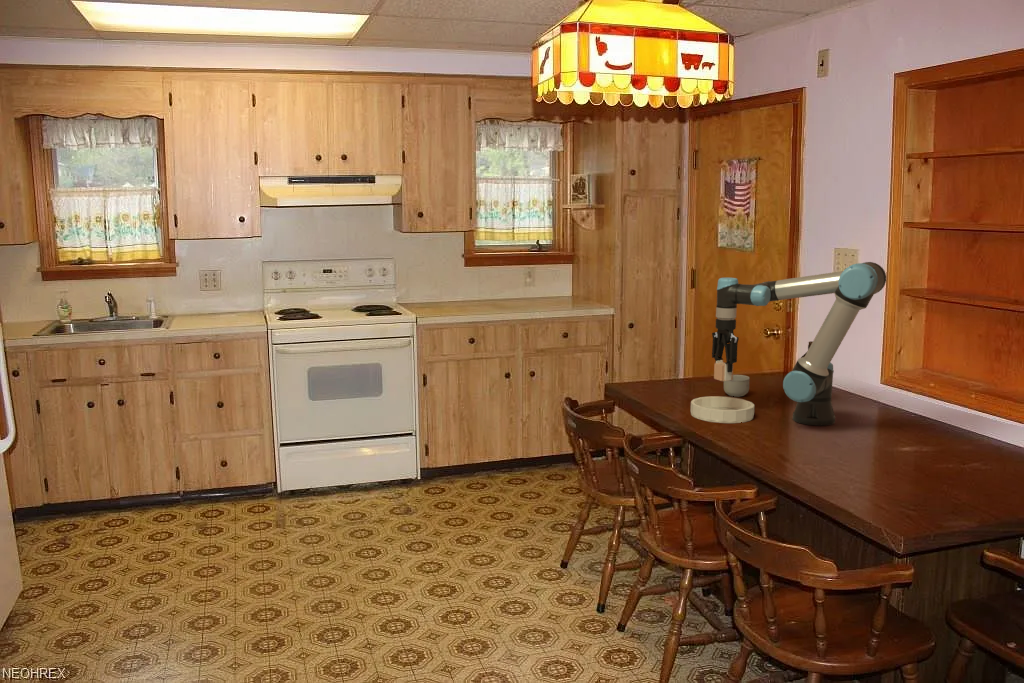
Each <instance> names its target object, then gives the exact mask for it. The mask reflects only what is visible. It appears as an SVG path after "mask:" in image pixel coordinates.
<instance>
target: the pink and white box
mask: <svg viewBox="0 0 1024 683" xmlns="http://www.w3.org/2000/svg"><path fill="white" fill-rule="evenodd" d="M713 368H714V370H713V379H714V380H717V381H720V382H724V381H725V380H724V375H725V362H724V361H723V363H715V362H714V367H713ZM733 375H734V366H733V367H732V376H731V380H733ZM727 381H729V380H727Z"/></svg>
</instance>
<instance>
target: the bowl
mask: <svg viewBox="0 0 1024 683" xmlns="http://www.w3.org/2000/svg"><path fill="white" fill-rule="evenodd" d="M690 415H691V416H692V417H693V418H695V419H698V420H701V421H703V422H709V423H718V424H740V423H741V422H742V423H747V422H750V421H752V420H753V419H754V415H755V404H754V403H753V402H752V401H750V400H746V399H743V398H740V397H733V396H714V395H713V396H701V397H696V398H693V399H692V400H691V401H690Z"/></svg>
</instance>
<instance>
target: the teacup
mask: <svg viewBox="0 0 1024 683" xmlns="http://www.w3.org/2000/svg"><path fill="white" fill-rule="evenodd" d="M750 379H751V378H750V376H748V375H745V374H733V380H729V381H723V391H724V392H725V394H727V395H728V397H733V396H734V397H733V398H741V397H744V396H745V395H747V394H748V393H749V390H750Z"/></svg>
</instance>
